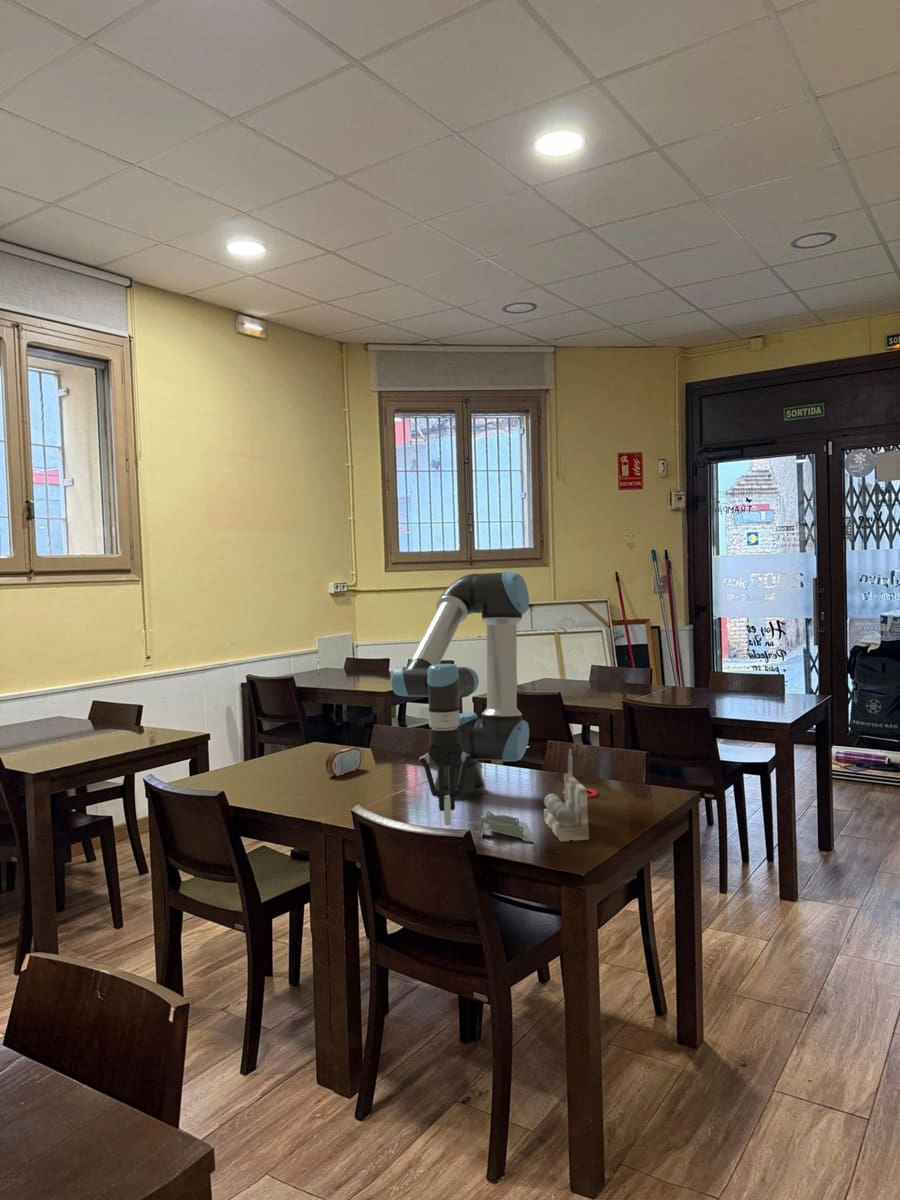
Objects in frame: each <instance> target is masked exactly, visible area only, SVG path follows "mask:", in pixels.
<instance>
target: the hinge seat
mask: <svg viewBox="0 0 900 1200" xmlns="http://www.w3.org/2000/svg"><path fill="white" fill-rule="evenodd" d="M572 775H573V774H572ZM572 775H571V774H570V773H568V772H566V773H563V782H564V783H563V785H564V787H563V790H564V794H565V795H564V801H562V800H561V798H559V796H558V795H557V794H556V793H548V794H547V795H546V796H544V799H543V805H544V806H545V807H546V808H544V809H543V821H544V822H545V824H546V825H547V824H548V825H547V826H548V828H549V829H550V828H551V829H552V830H551V829H550V830H551V831H552V832H553V834H554V835H555V836H556V838H557V837H558V838H557V839H558V840H559V842H570V841H569V840H573V841H583V840H586V841H587V840H590V831H589V828H590V827H589V814H588V809H589V808H588V799H587V795H588V792H587V789H586V788H587V787H585V786H584V785H583V784H582V783H581V782H579V781H578V779H576V778H575V776H574V775H573V776H572Z"/></svg>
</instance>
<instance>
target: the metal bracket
mask: <svg viewBox="0 0 900 1200" xmlns="http://www.w3.org/2000/svg"><path fill="white" fill-rule="evenodd" d="M479 822H480V823H479V830H476V833H475V834H476V835H479V836H480V835H481V837H480V839H483V836H484V830H485V831H491V832H494V833H499V834H503V835H507V836H511V837H515V838H519V839H520V838H521V839H522V840H523V841H524V842H527V843H530V842H535V841H536V840H535V841H534V839H535V838H534V836H533V834H532V832H531V830H530V828H529V829H528V827H529V825H528V824H527V823H526V822H524V821H520V819H519V817H515V816H511V815H506V814H498V815H496V814H494V813H492V811H487V812H486V813H485V815H483V814H482V815H480V821H479ZM526 824H527V825H528V826H527V825H526ZM529 830H530V831H529ZM530 832H531V833H530ZM532 836H533V837H532ZM533 838H534V839H533Z"/></svg>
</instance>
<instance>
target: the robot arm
mask: <svg viewBox="0 0 900 1200" xmlns="http://www.w3.org/2000/svg"><path fill="white" fill-rule="evenodd" d="M529 597H530V596H529V590H528V586H527V583H526V581H525V579H524V578H523V576H522V575H520V574H519V572H518V573H517V572H506V571H504V572H488V573H470V574H467V575H464V576H462V577H460V578H458V579H456V580H455V581H454V582H452V583H451V584H450V585H449V586H448V587H447V588H446V589H444V591H443V592H442V593H441V595H440V596H439V599H437V601H436V605H435V606H436V611H435V613H434V614H433V617H432V619H431V621H430V623H428V624H429V625H428V626H427V628H426V630H425V632H424V634H423V636H422V638H421V640H420V641H419V643H418V646H416V649H415V651H414V653H413V654H412V656H411V659H410V660H409V662H408V664H407V665H406V667H405V666H401V667H397V668H395V669H394V670H393V672H392V674H391V678H390V679H391V680H390V684H391V688H392V692H393V693H394V694H395V695H396V696H400V697H401V696H402V697H408V698H413V697H417V698H419V697H421V698H422V697H423V698H424V697H426V698H428V725H429V728H430V729H429V731H428V733H429V736H428V737H429V747H428V750H427V752H426V754H424V755H421V756H419V758H418V759H419V762H420V763H421V764H422V767H424V768H423V769H424V771H425V774H426V779H427V782H428V785H429V790H430V793H431V795H432V797H437V798H438V809H439V811H440V812H443V823H444V826H452V819H451V818H452V811H455V809H456V801H455V800H468V799H475V798H479V797H481V796H483V795H485V793H486V784H485V781H484V779H483V778H484V777H483V774H482V772H481V770H480V766H479V765H480V764H479V760H482V761H485V760H486V761H498V762H499V761H502V762H505V763H506V762H518V761H520V760H521V759H522V758H523V757H524V755H525V753H526V751H527V748H528V745H529V739H530V728H529V723H528V722H527V721H526V720H525V719H523V713H522V712H521V711H520V710H519V709H518V703H517V702H518V701H517V700H518V696H517V691H518V690H517V688H518V687H517V685H518V679H517V678H518V677H517V675H518V672H517V667H518V666H517V665H518V663H517V657H518V655H517V649H518V647H517V646H518V645H517V642H518V641H517V633H518V632H517V630H518V629H517V627H518V626H517V625H518V624H519V623H520V622H521V621H522V620H523V614H525V613H526V612H527V611H528V610H529V605H530V598H529ZM472 614H481V620H482V621H483V622H484V623H485V624H486V708H485V709H484V711H483V712H481V718H478V715H477V713H476V712H461V713H460V699H463V698H468V697H469V696H471V695H472V694H473V693H475V692H476V691H477V690H478V688H479V684H480V683H479V676H478V673H476V671H475V669H473V668H471V667H469V666H457V665H456V664H453V663H441V662H442V660H443V658H444V656H445V653H446V651H447V650H448V647H449V646H450V644H451V642H452V640H453V638H454V635H455V634H456V632H457V630H458V628H459V626H460V624H461V623H462V622H464V621H465V620H466V619H467V618H468V615H472ZM430 758H431V760H432V761H433V762H434V764H436V766H437V774H436V779H435V782H434V779H433V774H432V771H431V767H430V763H431V760H430Z"/></svg>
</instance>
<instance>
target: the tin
mask: <svg viewBox="0 0 900 1200" xmlns="http://www.w3.org/2000/svg"><path fill="white" fill-rule="evenodd" d="M325 761H326V762H325V769H326V773H327V774H328V776H331V775H334V777H336V776H335V775H339V774H343V773H346V772H349V771H353V770H356V771H358V769H359V768H360V766H361V764H362V752H361V750H360V749H359V748H357V747H355V746H346V747H342V748H340V749H335V750H332V751H331V752H330V753H329V754H328V755H327V758H326V760H325Z"/></svg>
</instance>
